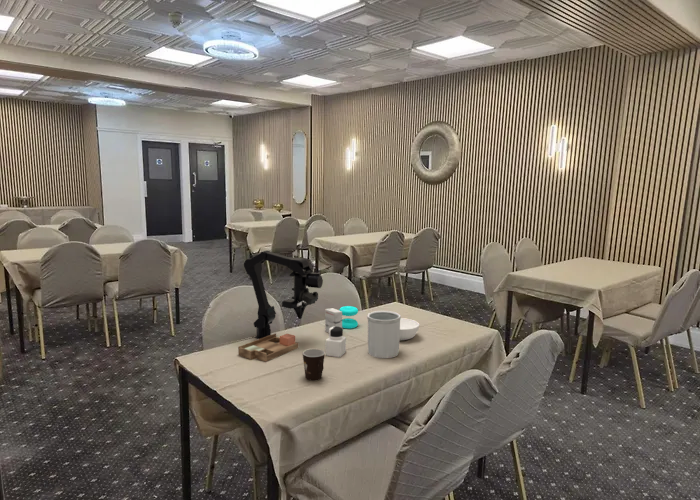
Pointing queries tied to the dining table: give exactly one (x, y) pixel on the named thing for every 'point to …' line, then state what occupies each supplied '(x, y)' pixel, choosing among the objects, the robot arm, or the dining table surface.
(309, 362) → the coffee mug
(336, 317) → the ink box
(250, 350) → the brown compartment tray
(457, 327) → the dining table surface
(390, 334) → the utensil holder
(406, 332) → the bowl
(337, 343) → the medicine bottle
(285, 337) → the block
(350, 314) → the donuts
